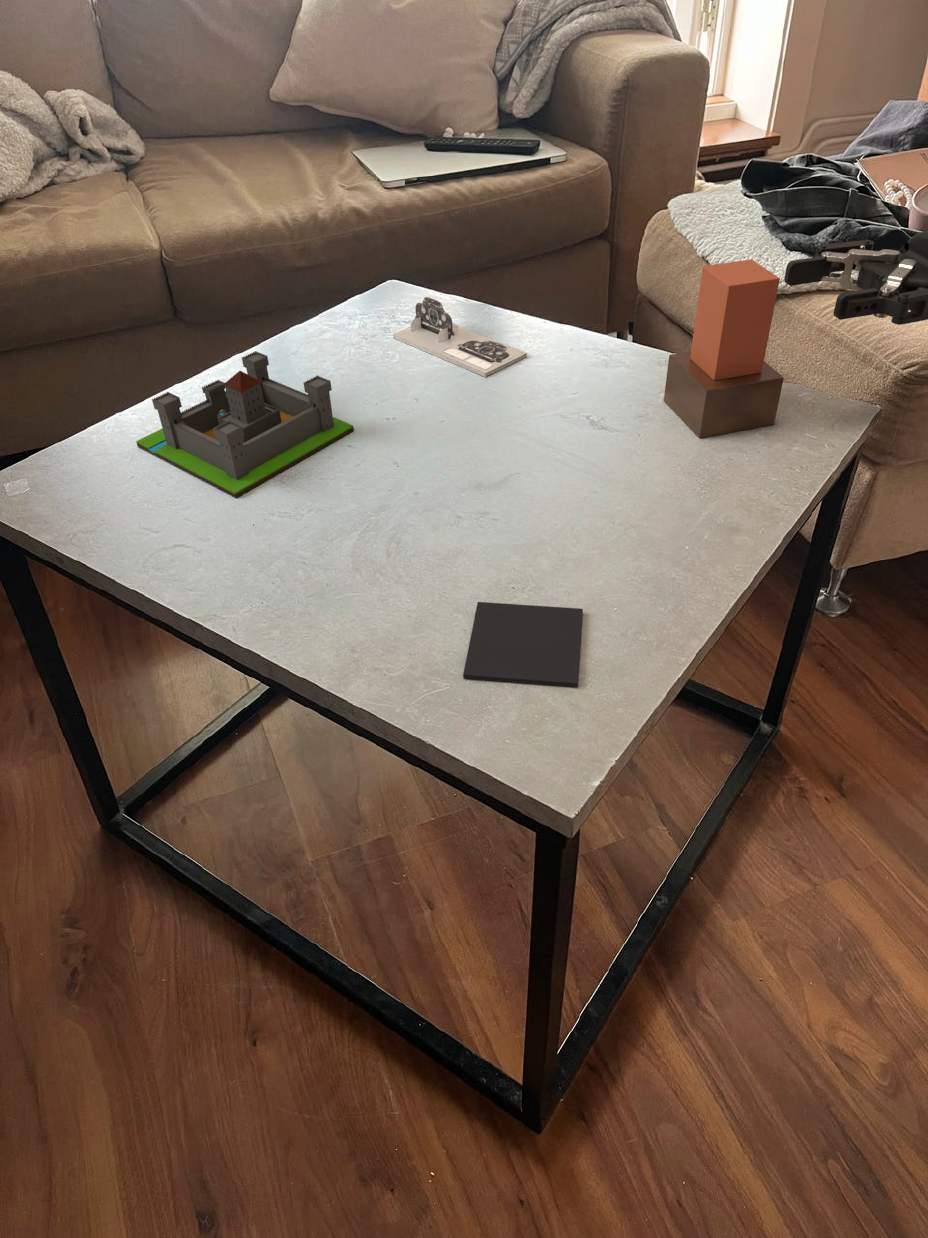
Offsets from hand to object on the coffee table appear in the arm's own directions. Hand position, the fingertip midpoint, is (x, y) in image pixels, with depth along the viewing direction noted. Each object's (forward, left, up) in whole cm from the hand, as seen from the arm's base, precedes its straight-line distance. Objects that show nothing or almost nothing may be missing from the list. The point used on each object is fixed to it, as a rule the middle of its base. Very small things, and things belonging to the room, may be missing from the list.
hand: (811, 289), depth 86 cm
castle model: (+53, +12, -12) cm, 56 cm away
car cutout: (+35, -10, -12) cm, 38 cm away
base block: (+7, +3, -11) cm, 14 cm away
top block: (+7, +3, -6) cm, 10 cm away
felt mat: (+23, +39, -11) cm, 47 cm away
